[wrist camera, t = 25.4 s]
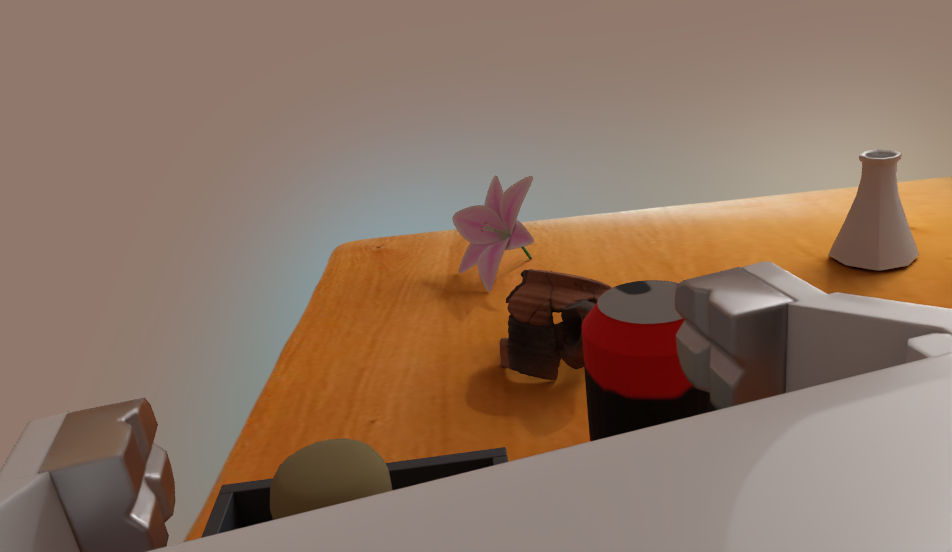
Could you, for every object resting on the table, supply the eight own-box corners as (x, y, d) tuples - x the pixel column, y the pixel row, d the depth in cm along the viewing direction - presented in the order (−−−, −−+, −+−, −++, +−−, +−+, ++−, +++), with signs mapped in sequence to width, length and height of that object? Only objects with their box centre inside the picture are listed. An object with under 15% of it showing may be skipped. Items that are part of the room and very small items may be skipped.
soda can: (682, 434, 51) (678, 264, 47) (748, 503, 44) (750, 312, 40) (574, 462, 50) (560, 290, 45) (625, 538, 43) (613, 344, 39)
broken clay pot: (473, 360, 65) (493, 263, 66) (569, 376, 69) (587, 285, 70) (544, 384, 54) (567, 267, 55) (653, 402, 58) (673, 293, 59)
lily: (461, 259, 89) (420, 201, 83) (552, 208, 88) (516, 146, 81) (485, 329, 80) (440, 270, 74) (587, 274, 78) (550, 209, 72)
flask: (880, 279, 69) (889, 169, 66) (813, 257, 75) (818, 156, 72) (934, 257, 72) (945, 151, 68) (865, 238, 78) (872, 140, 74)
